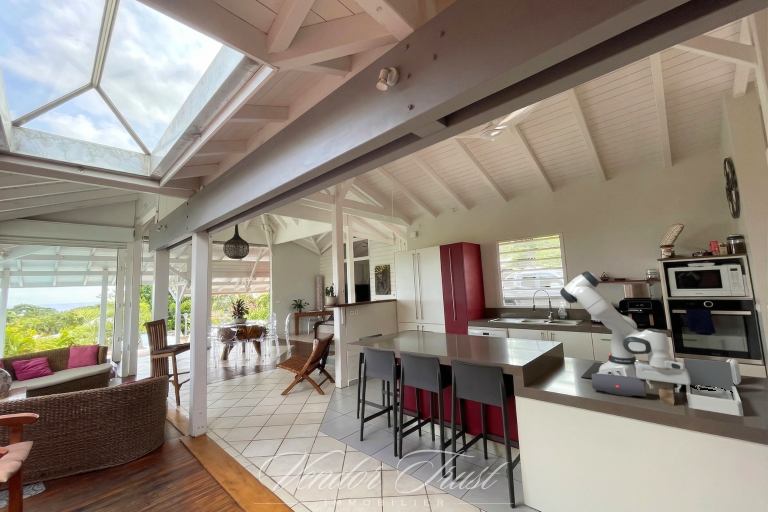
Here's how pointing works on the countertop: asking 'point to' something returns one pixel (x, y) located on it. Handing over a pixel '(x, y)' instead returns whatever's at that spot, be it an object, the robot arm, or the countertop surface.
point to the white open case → (710, 377)
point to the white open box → (716, 403)
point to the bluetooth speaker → (619, 384)
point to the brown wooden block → (666, 395)
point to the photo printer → (735, 371)
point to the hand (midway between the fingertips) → (664, 390)
